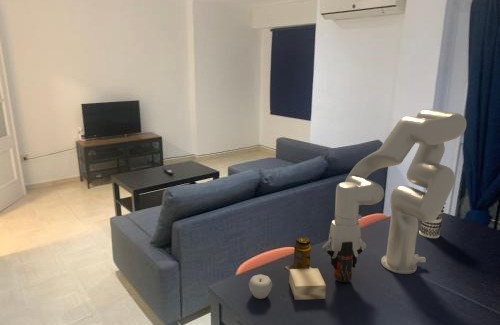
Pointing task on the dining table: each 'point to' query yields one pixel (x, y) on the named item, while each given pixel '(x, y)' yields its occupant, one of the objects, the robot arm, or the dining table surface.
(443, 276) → the dining table surface
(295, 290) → the block
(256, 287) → the apple
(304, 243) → the condiment
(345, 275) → the deodorant
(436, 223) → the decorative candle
